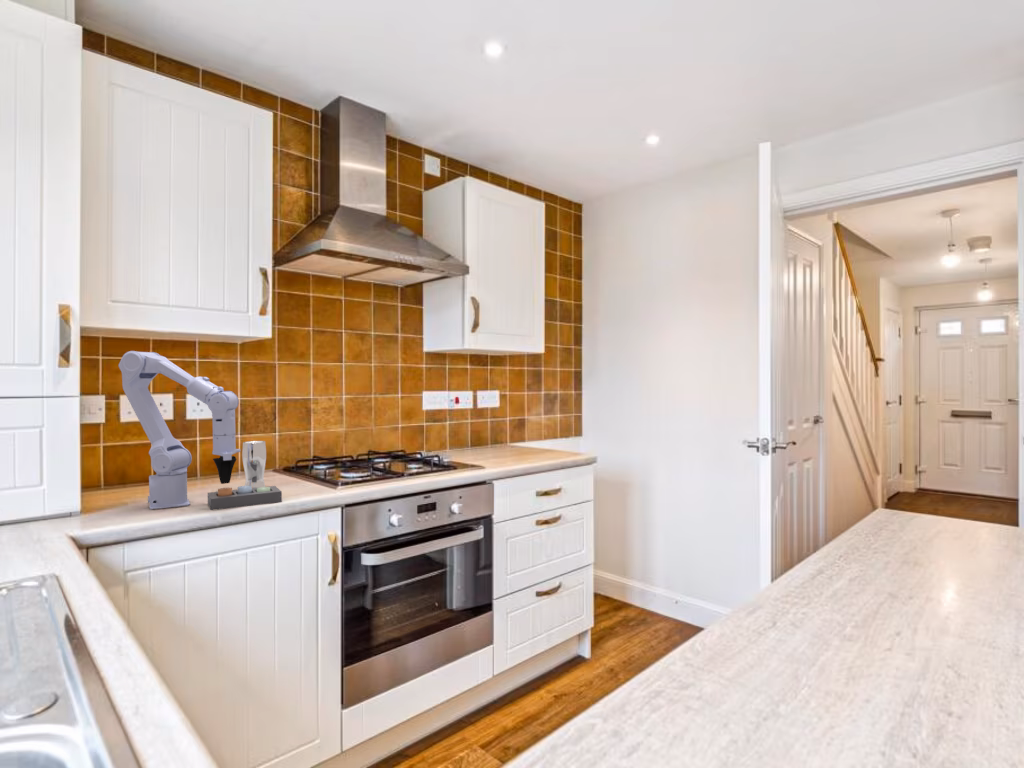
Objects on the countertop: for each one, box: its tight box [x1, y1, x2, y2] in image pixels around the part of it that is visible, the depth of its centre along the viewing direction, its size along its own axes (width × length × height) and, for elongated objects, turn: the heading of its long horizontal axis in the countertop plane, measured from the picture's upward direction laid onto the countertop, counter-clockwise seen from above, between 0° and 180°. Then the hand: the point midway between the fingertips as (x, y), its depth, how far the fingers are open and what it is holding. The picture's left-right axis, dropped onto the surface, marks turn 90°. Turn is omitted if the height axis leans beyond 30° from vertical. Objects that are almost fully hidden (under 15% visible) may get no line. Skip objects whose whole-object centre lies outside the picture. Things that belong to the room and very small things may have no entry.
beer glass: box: [241, 440, 267, 488], centre depth 186 cm, size 7×7×15 cm
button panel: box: [207, 485, 283, 511], centre depth 166 cm, size 18×10×3 cm, turn 122°
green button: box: [257, 486, 270, 492], centre depth 168 cm, size 4×4×3 cm
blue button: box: [237, 485, 252, 494], centre depth 166 cm, size 4×4×3 cm
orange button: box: [217, 487, 233, 496], centre depth 163 cm, size 4×4×3 cm
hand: (225, 483), depth 163 cm, fingers closed
